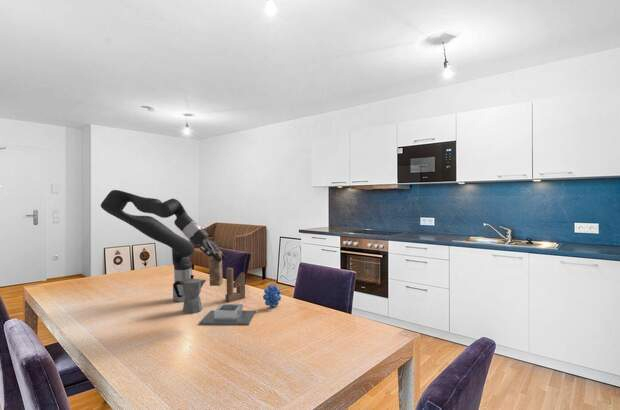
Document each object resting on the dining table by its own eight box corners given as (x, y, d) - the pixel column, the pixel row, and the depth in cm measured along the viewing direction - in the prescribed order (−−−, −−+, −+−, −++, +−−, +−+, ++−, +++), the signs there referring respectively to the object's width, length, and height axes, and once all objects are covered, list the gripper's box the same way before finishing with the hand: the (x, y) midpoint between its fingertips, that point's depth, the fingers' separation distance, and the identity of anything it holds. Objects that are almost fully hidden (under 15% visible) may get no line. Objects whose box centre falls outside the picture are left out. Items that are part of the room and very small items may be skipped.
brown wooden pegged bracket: (245, 298, 191) (245, 266, 190) (229, 302, 183) (228, 269, 183) (241, 296, 193) (241, 265, 193) (225, 301, 185) (224, 268, 185)
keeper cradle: (199, 324, 151) (199, 313, 151) (210, 312, 167) (210, 302, 167) (248, 324, 151) (248, 313, 151) (255, 312, 167) (255, 302, 167)
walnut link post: (209, 285, 153) (209, 252, 152) (212, 283, 157) (212, 250, 157) (219, 285, 152) (219, 252, 152) (222, 283, 157) (221, 250, 156)
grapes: (269, 312, 167) (269, 288, 167) (260, 309, 172) (260, 285, 171) (286, 306, 176) (286, 283, 175) (277, 303, 180) (277, 281, 180)
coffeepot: (205, 306, 177) (205, 271, 176) (206, 312, 168) (206, 275, 167) (173, 309, 171) (173, 274, 171) (173, 316, 163) (172, 278, 162)
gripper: (195, 237, 162) (221, 262, 162) (183, 241, 147) (211, 269, 147) (206, 226, 161) (232, 251, 161) (195, 229, 147) (223, 257, 147)
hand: (222, 259), depth 154 cm, fingers closed on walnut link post, 4 cm apart
